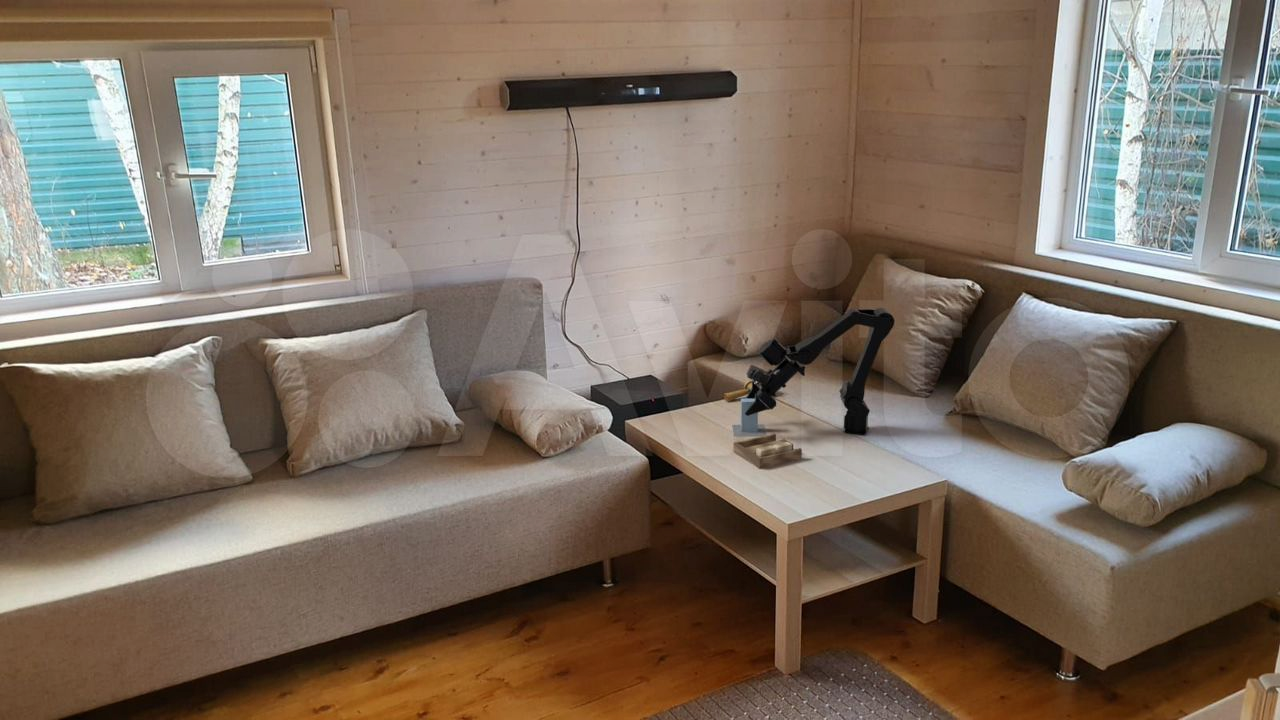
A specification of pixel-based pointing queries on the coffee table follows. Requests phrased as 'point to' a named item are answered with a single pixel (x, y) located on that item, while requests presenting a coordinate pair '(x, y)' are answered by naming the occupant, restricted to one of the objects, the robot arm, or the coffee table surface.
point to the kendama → (739, 392)
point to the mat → (738, 432)
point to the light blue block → (748, 417)
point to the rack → (748, 453)
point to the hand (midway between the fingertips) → (744, 409)
